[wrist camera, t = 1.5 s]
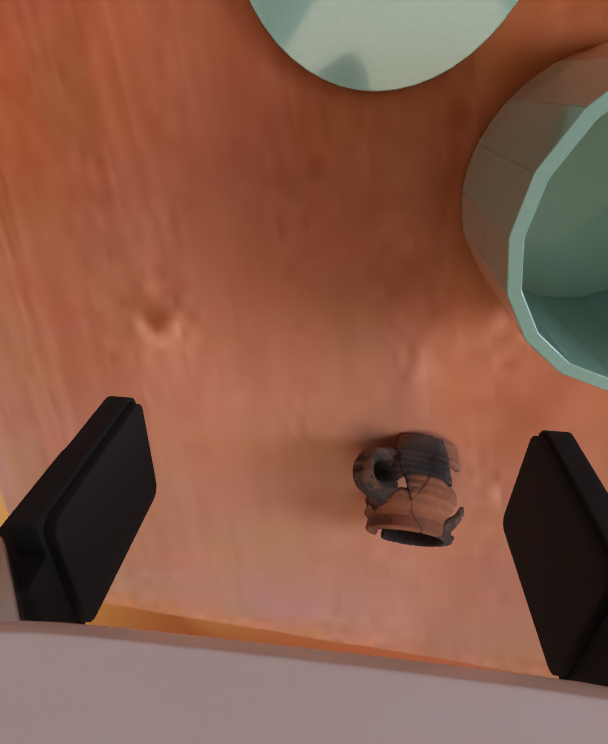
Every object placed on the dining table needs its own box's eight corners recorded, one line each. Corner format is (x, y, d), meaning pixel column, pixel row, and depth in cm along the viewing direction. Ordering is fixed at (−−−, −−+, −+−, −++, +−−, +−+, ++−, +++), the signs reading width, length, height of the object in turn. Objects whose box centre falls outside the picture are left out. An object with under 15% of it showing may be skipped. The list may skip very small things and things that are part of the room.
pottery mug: (487, 456, 44) (486, 550, 40) (409, 469, 51) (402, 550, 47) (394, 406, 38) (383, 510, 34) (321, 429, 45) (305, 517, 41)
